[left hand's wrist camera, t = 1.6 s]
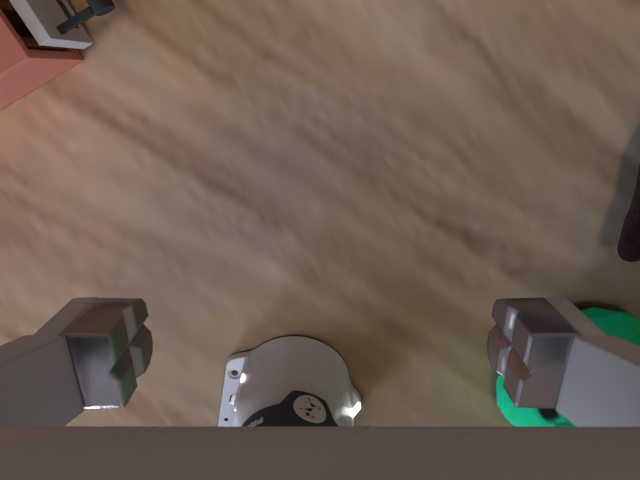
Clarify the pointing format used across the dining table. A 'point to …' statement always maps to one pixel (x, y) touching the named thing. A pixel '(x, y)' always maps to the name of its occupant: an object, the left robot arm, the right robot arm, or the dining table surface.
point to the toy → (546, 417)
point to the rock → (631, 229)
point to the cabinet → (27, 64)
